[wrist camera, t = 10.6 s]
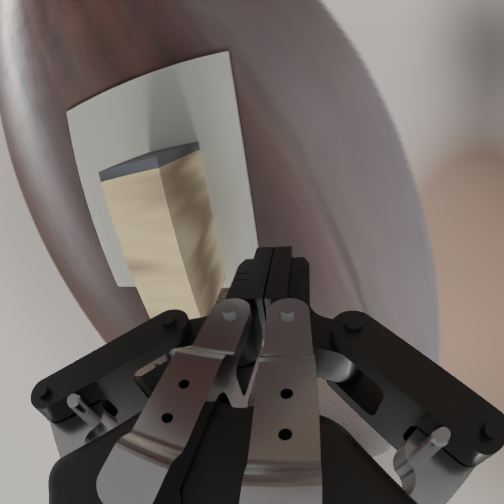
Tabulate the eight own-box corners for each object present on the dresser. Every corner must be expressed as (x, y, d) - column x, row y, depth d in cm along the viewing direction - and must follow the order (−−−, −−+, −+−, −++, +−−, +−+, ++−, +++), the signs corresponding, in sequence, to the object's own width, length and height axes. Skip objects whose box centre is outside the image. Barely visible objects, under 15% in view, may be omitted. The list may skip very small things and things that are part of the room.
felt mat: (264, 285, 22) (263, 287, 22) (119, 284, 25) (118, 286, 25) (229, 51, 14) (227, 50, 14) (68, 111, 17) (66, 111, 17)
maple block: (198, 141, 17) (226, 277, 22) (149, 152, 18) (182, 278, 23) (156, 156, 12) (204, 329, 17) (98, 172, 13) (153, 325, 18)
